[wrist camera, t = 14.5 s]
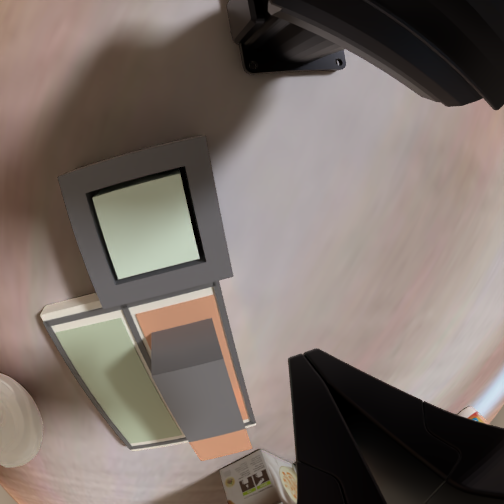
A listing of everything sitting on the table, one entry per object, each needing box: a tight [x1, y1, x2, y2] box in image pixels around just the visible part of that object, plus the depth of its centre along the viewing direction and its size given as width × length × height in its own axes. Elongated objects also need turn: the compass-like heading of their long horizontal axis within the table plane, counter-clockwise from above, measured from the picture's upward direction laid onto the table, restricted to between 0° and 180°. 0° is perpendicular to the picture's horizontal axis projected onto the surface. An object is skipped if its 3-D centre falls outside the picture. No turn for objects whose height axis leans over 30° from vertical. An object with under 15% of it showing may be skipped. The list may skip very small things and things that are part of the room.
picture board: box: [40, 280, 256, 451], centre depth 21 cm, size 12×16×1 cm
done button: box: [92, 168, 200, 279], centre depth 16 cm, size 4×4×2 cm
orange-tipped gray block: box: [151, 318, 252, 461], centre depth 19 cm, size 4×10×4 cm, turn 10°
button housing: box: [58, 136, 233, 309], centre depth 16 cm, size 7×7×3 cm
